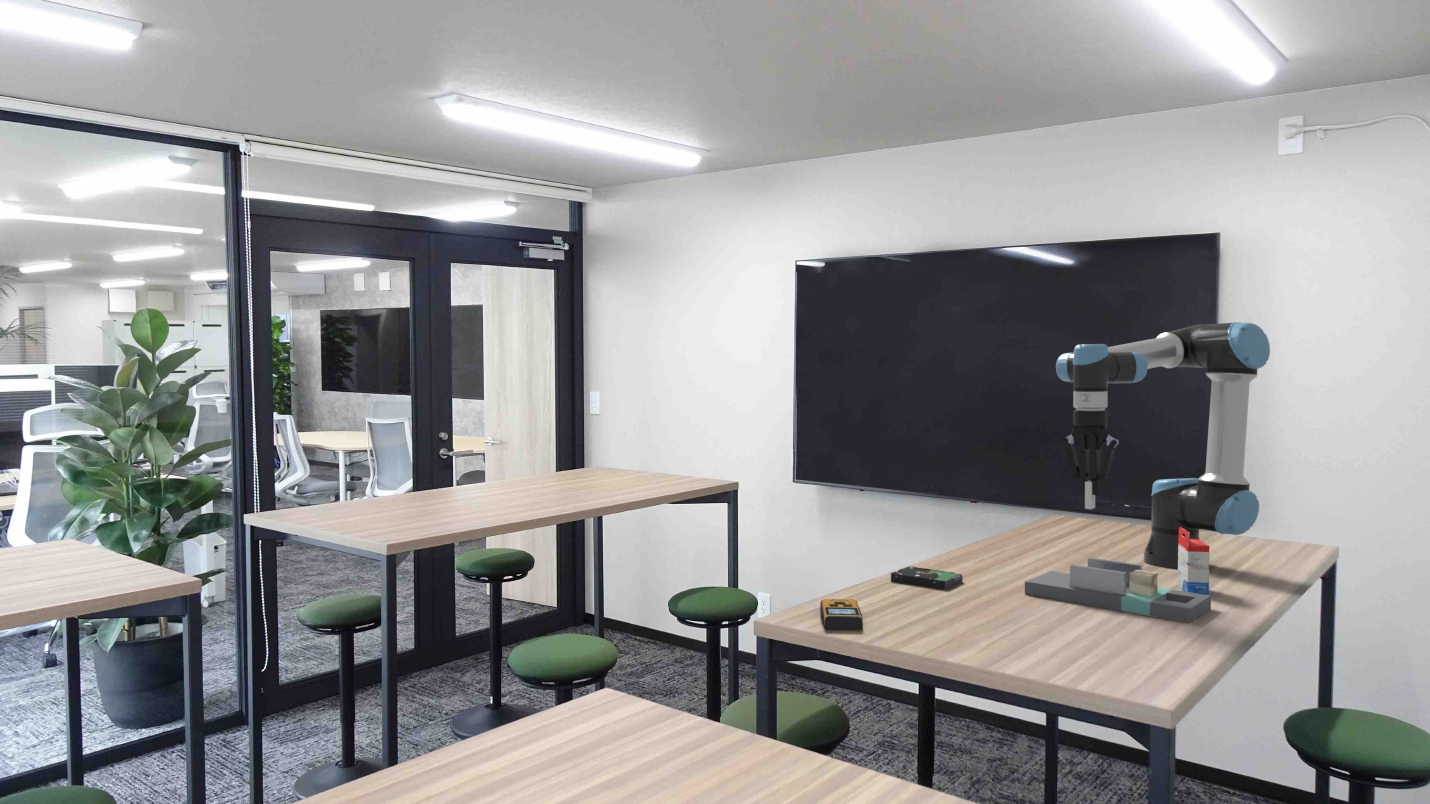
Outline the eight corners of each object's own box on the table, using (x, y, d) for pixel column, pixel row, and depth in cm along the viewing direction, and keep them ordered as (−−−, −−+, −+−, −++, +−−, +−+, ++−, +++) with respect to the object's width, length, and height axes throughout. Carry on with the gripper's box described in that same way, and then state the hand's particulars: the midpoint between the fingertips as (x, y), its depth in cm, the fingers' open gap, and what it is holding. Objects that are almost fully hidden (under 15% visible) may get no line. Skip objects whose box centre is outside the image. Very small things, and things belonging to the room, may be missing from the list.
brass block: (1136, 589, 210) (1136, 569, 210) (1157, 592, 207) (1157, 572, 207) (1129, 593, 207) (1129, 572, 207) (1150, 596, 204) (1150, 576, 204)
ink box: (1209, 595, 217) (1211, 533, 216) (1186, 594, 218) (1188, 532, 217) (1198, 587, 225) (1199, 526, 225) (1176, 586, 226) (1177, 526, 226)
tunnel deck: (1051, 582, 229) (1051, 550, 229) (1210, 609, 205) (1211, 573, 205) (1024, 593, 218) (1025, 560, 218) (1190, 622, 194) (1190, 584, 194)
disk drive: (890, 584, 231) (946, 592, 222) (890, 573, 231) (946, 580, 222) (908, 576, 239) (963, 583, 230) (908, 565, 239) (963, 572, 230)
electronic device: (857, 613, 204) (857, 597, 204) (864, 632, 188) (864, 616, 188) (819, 612, 204) (819, 596, 204) (822, 631, 189) (823, 615, 189)
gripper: (1056, 409, 221) (1056, 507, 222) (1113, 410, 213) (1113, 513, 214) (1068, 407, 227) (1068, 503, 228) (1124, 409, 218) (1123, 508, 219)
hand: (1090, 508), depth 221 cm, fingers closed
